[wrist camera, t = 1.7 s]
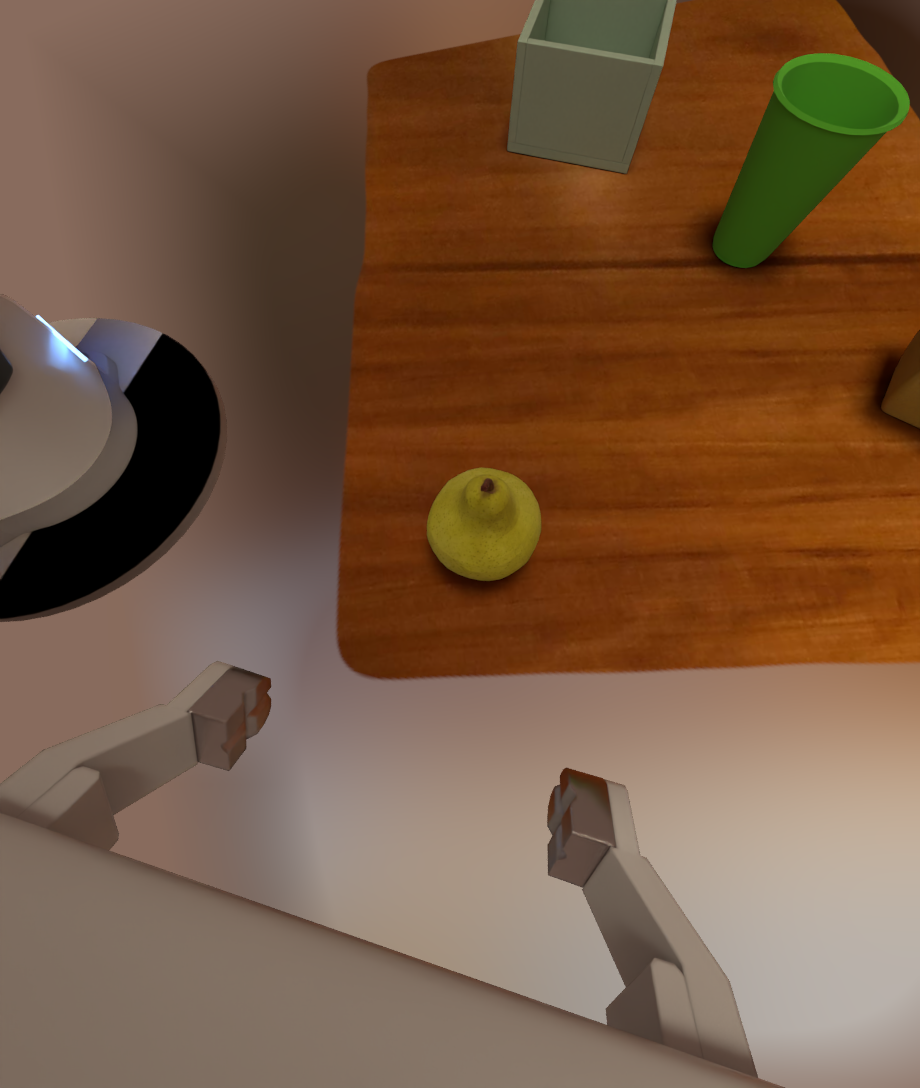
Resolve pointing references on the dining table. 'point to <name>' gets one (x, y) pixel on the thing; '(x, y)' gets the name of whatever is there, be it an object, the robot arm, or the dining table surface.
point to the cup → (805, 149)
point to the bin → (587, 79)
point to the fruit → (484, 524)
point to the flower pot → (905, 386)
